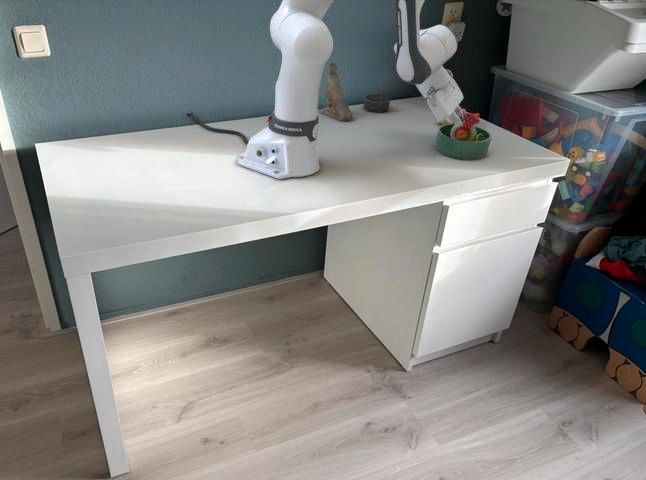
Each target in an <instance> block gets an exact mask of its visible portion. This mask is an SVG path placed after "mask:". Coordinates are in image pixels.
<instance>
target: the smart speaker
mask: <svg viewBox="0 0 646 480" xmlns="http://www.w3.org/2000/svg"><path fill="white" fill-rule="evenodd" d="M390 104H391V99H390V97H388V96H387V95H383V94H379V93H378V94H377V93H373V94H367V95H366V96H364V98H363V108H364V109H365V110H367V111H369V112H374V113H384V112H387V111H388V110H389V109H390V106H391V105H390Z"/></svg>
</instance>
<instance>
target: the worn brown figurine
mask: <svg viewBox="0 0 646 480" xmlns="http://www.w3.org/2000/svg"><path fill="white" fill-rule="evenodd" d="M337 68H338V66H337V64H336V63H334V62H331V63H330V64H329V72H328V74H327V83H326V86H325V91H324V93H325V97H326V103H327V104H326V106H324V107H322V108H321V111H320V112H321V113H323V114H325V115H326V116H329V117H331V118H332V119H334V120H337V121H340V122H350V121H353V118H354V117H353V112H352V111H351V109H350V107H349V105H348V103H347V100H346V97H345V94H344V91H343V88H342V85H341V81H340V78H339V77H340V76H339V75H338V73H337V72H336V71H337Z"/></svg>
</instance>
